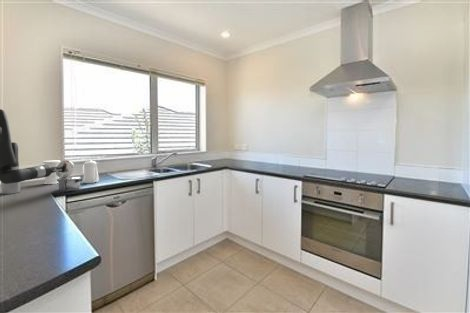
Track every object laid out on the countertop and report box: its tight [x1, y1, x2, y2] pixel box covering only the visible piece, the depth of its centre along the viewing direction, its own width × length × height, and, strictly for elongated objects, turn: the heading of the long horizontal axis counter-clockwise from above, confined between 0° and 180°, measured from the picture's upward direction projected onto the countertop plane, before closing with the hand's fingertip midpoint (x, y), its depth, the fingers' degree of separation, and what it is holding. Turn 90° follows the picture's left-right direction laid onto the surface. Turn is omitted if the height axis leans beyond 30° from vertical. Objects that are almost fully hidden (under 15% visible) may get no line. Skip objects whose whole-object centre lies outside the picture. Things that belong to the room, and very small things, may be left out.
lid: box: [56, 160, 75, 179], centre depth 163 cm, size 13×12×2 cm
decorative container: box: [42, 159, 61, 185], centre depth 190 cm, size 12×12×18 cm
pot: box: [57, 176, 83, 192], centre depth 168 cm, size 14×16×8 cm
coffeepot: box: [82, 159, 100, 184], centre depth 194 cm, size 11×25×19 cm, turn 58°
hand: (63, 167), depth 162 cm, fingers closed
